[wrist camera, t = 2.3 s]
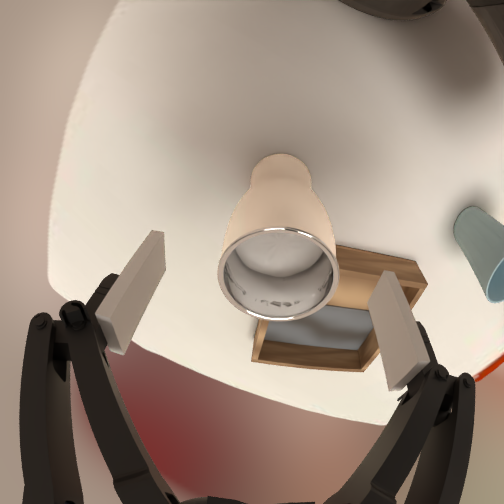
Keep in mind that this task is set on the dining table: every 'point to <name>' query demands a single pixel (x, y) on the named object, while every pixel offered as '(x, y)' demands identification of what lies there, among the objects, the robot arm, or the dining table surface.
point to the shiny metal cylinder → (279, 245)
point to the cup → (483, 249)
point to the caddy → (338, 318)
